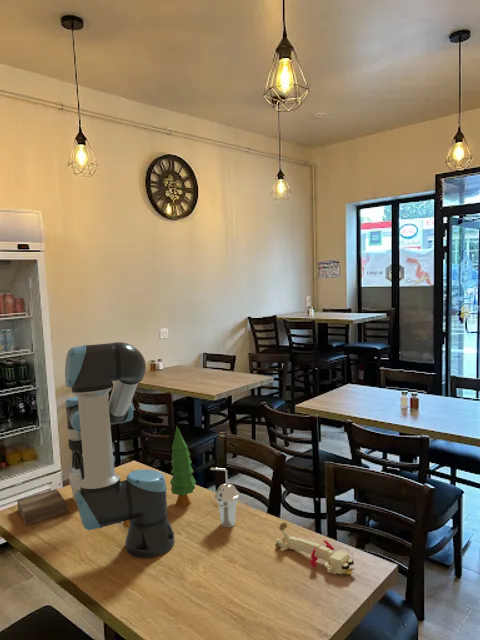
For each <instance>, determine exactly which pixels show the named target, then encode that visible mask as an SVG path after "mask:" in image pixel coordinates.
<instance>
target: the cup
mask: <svg viewBox="0 0 480 640" xmlns="http://www.w3.org/2000/svg"><path fill="white" fill-rule="evenodd" d="M68 479H69V484H70V488H71V493H72V497H73V501H74V502H75V503H77V502H76V496H75V493H76V492H77V491H78V490H80V483H81V482H82V476H81V471H80V469H77V470H76V469H75V467H73V468H72V467H71V468H70V469H69V470H68Z"/></svg>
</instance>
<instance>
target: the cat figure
mask: <svg viewBox="0 0 480 640" xmlns="http://www.w3.org/2000/svg"><path fill="white" fill-rule="evenodd" d="M287 527H288V523H287V522H285V521H282V523H280V524H279V527H278V528H279V531H280V532H281V534H283V535H282V536H283V538H282V540H281V539H280V538H276V539H275V543H274V545H275V546H274V547H275V548H277V549H281V548H282V549H283V550H288V549H290V550H295V551H298V552H303V553H306V554H309V555H310V561H309V562H310V566H311V567H312V568H314V569H316V568H317V566H318V563H317V561H318V560H319V559H321V560H323V561H324V564H323V565H324V567H325V568H326V569H327V572H328V573H330V574H333V575H336V574H339V575H343V574H345V575H348V576H349V575H352V574H353V571H355V570H356V568H355V567H352V568H351V566H353V565H354V564H355V563H354V559H353V558H351V556H350V554H349V553H348V552H345V551H342V550H336V551H335V547H333V545H332V544H331V543H330V542H329V541H327V540H322V542H323V543H324V544H326V545H325V546H323V545H322V544H320V543H317V542H315V541H311V540H308V539H305V538H302V537H296V536H293V535H291V536H290V534H289V532H288V531H287V530H286V529H287Z"/></svg>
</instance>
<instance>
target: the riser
mask: <svg viewBox="0 0 480 640" xmlns="http://www.w3.org/2000/svg"><path fill="white" fill-rule="evenodd" d="M16 502H17V503H16V504H17V511H18V513H19V514H20V517H21V519H22V520H23V523H24V525H25V526H28V525H32V524H35V523H38V522H41V521H44V520H48V519H51V518H54V517H58V516H61V515H65V514H67V513H68V508H67V507H68V506H67V501H66V499H65V498H64V497H63V496H62V495H61V493H60V492H59V491H58V489H56V488H54V489H52V490H48V491H44V492H41V493H37V494H34V495H30V496H26V497H23V498H19V499H16Z"/></svg>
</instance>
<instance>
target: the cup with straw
mask: <svg viewBox="0 0 480 640" xmlns="http://www.w3.org/2000/svg"><path fill="white" fill-rule="evenodd" d="M209 470H211V471H222V472H223V471H224V473H225V474H224V477H225V479H224V480H225V483H222V484H221V485H219V487H218V488H217V490H216V491H215V493H214V499H215V500H216V501H217V506H218V510H219V516H220V517H219V518H220V521H221V526H222V527H224V528H231V527H233V526H235V525H236V514H237V504H238V499H239V498H240V496H241V495H240V492H239V490H237V488H236V486H234V484H232V483H229V481H228V479H229V478H228V470H227V469H226V468H221V467H210V469H209Z"/></svg>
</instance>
